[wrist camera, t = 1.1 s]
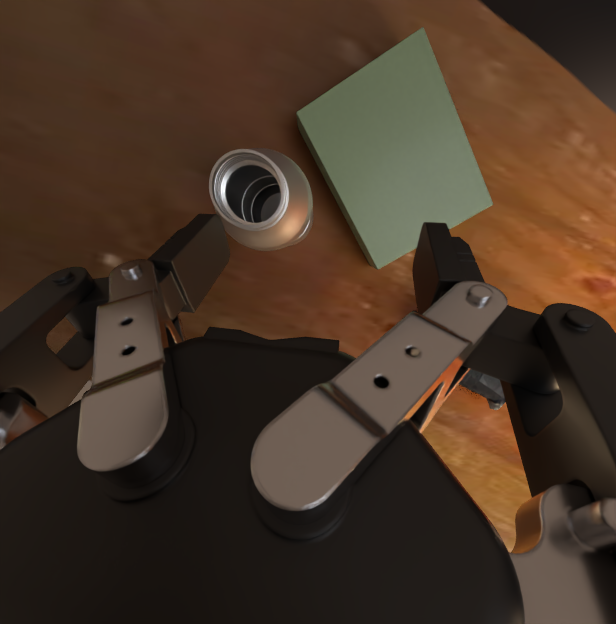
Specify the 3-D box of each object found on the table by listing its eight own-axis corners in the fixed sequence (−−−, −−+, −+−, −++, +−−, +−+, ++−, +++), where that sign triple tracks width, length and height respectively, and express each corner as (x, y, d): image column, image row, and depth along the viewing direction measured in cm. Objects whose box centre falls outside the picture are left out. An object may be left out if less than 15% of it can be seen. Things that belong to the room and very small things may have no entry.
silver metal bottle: (299, 255, 34) (284, 280, 15) (246, 230, 34) (159, 222, 14) (322, 203, 33) (340, 155, 13) (268, 175, 32) (203, 83, 13)
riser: (297, 127, 31) (296, 112, 27) (408, 54, 29) (423, 26, 25) (370, 265, 34) (377, 269, 31) (471, 208, 33) (493, 204, 29)
